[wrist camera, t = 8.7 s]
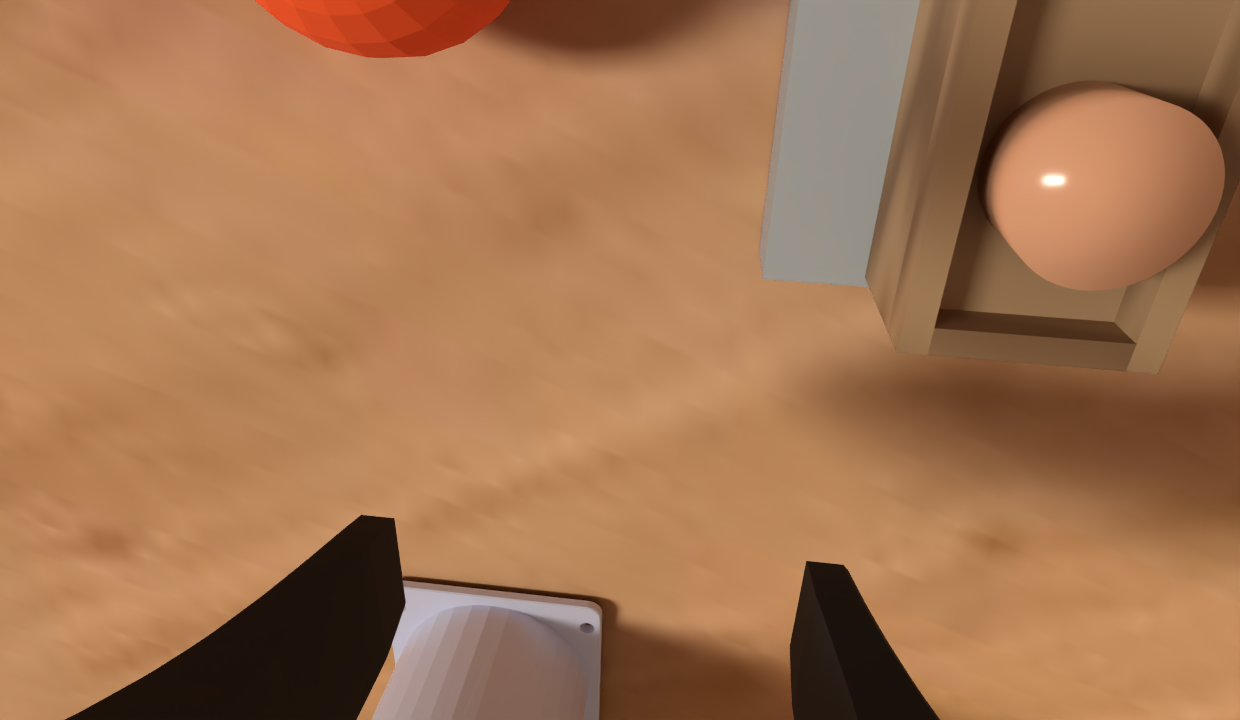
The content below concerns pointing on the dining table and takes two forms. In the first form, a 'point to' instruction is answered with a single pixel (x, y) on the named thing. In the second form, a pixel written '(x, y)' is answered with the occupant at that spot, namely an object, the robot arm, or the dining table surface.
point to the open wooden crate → (957, 139)
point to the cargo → (1100, 184)
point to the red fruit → (386, 23)
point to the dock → (833, 136)
